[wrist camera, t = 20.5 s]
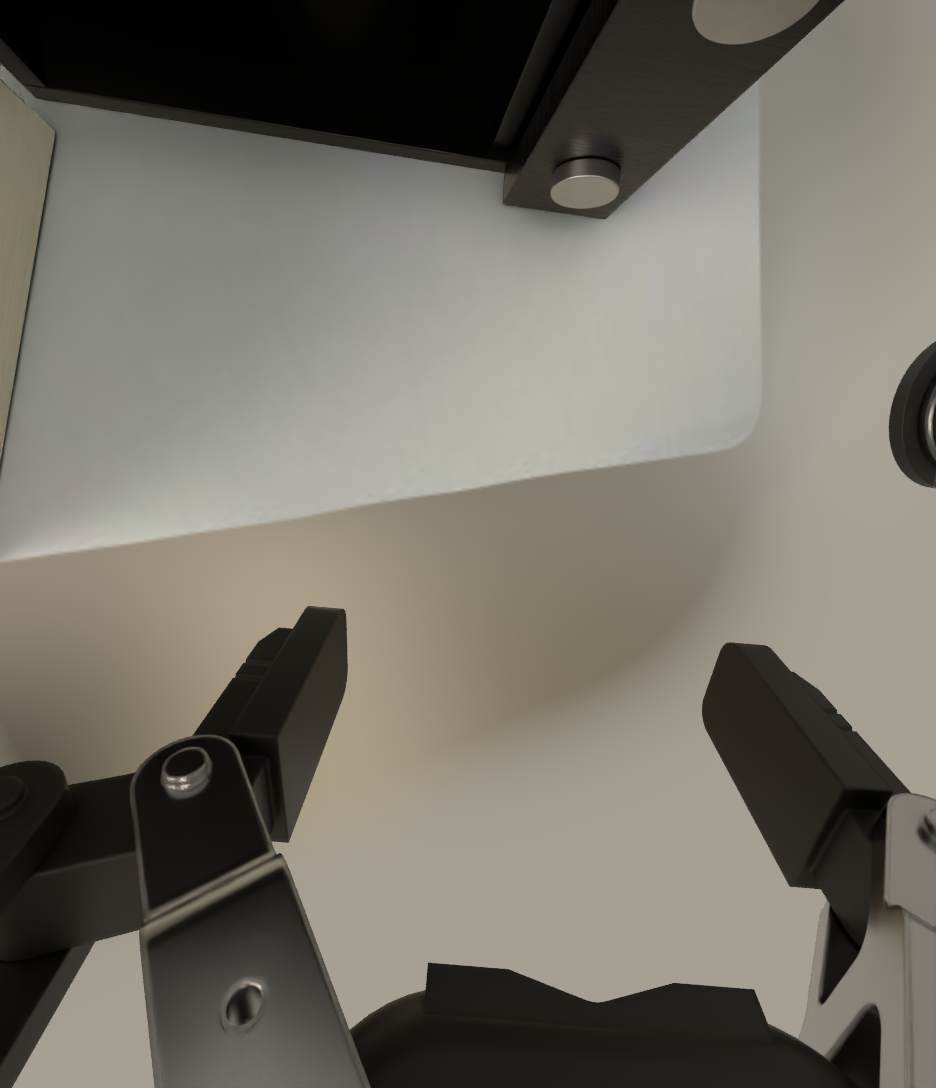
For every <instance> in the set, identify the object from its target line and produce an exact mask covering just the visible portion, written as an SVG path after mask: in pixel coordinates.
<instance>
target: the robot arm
mask: <svg viewBox="0 0 936 1088" xmlns="http://www.w3.org/2000/svg"><path fill="white" fill-rule="evenodd" d="M918 438H919V442H920V446H921V449H922V451H923V453H924V455H925V457H926V458H927V459H928V461H929V462H930V463H931V464H932V465H933V466H935V467H936V374H935V375H934V377H933V378H932V380H931V381H930V383H929V385H928V387H927V389H926V391H925V393H924V396H923V399H922V401H921V405H920V409H919V414H918ZM347 668H348V664H347V627H346V613H345V610H344V609H338V608H326V607H315V606H308V607H307V608H306V609H305V610H304V612H303V613H302V615H301V617H300V618H299V620H298V622H297V623H296V625H295V626H294V628H293V629H289V628H278V629H276V630H275V631H273V632H272V633H270V634H269V635H268V636H266V637H265V638H263V639H262V640H260V641H259V642H258V643H257V645H256V646H255V647H254V649H253V650H252V652H251V653H250V655H249V656H248V657H247V659H246V663H243V664H242V666H241V667H240V669H239V670H238V672H237V673H236V677H235V678H233V679H232V680H231V682H230V683H229V684H228V686H227V687H226V689H225V690H224V691H223V693H222V694H221V696H220V697H219V699H218V700H217V701H216V703H215V704H214V706H213V707H212V709H211V710H210V711H209V713H208V714H207V716H206V717H205V719H204V720H203V721H202V723H201V724H200V726H199V727H198V729H197V730H196V731H195V733H194V734H193V736H190V737H186V738H183V739H179V740H177V741H174V742H172V743H170V744H168V745H166V746H164V747H163V748H161V749H159V750H158V751H156V752H155V753H153V754H152V755H151V756H150V757H148V758H147V759H146V760H145V761H144V762H143V764H141V765H140V767H139V768H138V770H137V771H136V772H135V773H131V774H127V775H122V776H117V777H111V778H106V779H100V780H95V781H89V782H83V783H77V784H72V785H68V784H67V781H66V779H65V776H64V773H63V771H62V770H61V769H60V768H59V767H58V766H56V765H55V764H53V763H50V762H47V761H25V762H18V763H14V764H10V765H6V766H3V767H0V1088H12V1087H13V1085H14V1083H15V1081H16V1080H17V1078H18V1076H19V1074H20V1072H21V1071H22V1069H23V1067H24V1066H25V1064H26V1062H27V1060H28V1058H29V1057H30V1055H31V1053H32V1051H33V1050H34V1048H35V1046H36V1044H37V1043H38V1041H39V1039H40V1037H41V1036H42V1034H43V1032H44V1030H45V1029H46V1027H47V1025H48V1023H49V1022H50V1020H51V1018H52V1016H53V1015H54V1013H55V1011H56V1009H57V1008H58V1006H59V1004H60V1002H61V1001H62V999H63V997H64V995H65V994H66V992H67V990H68V988H69V987H70V984H71V983H72V981H73V979H74V978H75V976H76V974H77V973H78V971H79V969H80V967H81V965H82V964H83V962H84V960H85V958H86V957H87V955H88V953H89V952H90V950H91V948H92V946H93V944H94V943H95V941H99V940H102V939H107V938H110V937H114V936H118V935H121V934H125V933H129V932H133V931H137V930H139V939H140V952H141V962H142V971H143V981H144V991H145V1000H146V1010H147V1019H148V1028H149V1038H150V1047H151V1057H152V1067H153V1076H154V1085H155V1088H936V800H935V799H932V798H929V797H926V796H923V795H919V794H912V793H911V792H910V791H909V790H908V789H907V788H906V787H905V786H904V785H903V783H902V782H901V781H900V780H899V779H898V778H897V777H896V776H895V774H894V773H893V772H892V771H891V770H890V769H889V768H888V767H887V766H886V764H885V763H884V762H883V761H882V760H881V759H880V758H879V757H878V755H877V754H876V753H875V752H874V751H873V750H872V749H871V748H870V746H869V745H868V744H867V743H866V742H865V741H864V740H863V739H862V738H861V737H860V736H859V734H858V733H857V732H854V731H852V726H851V725H850V724H849V723H848V722H847V721H846V720H845V719H844V717H843V716H842V715H841V714H837V710H836V709H835V707H833V705H832V704H831V703H830V702H829V701H828V700H827V699H826V697H825V696H824V695H823V694H822V693H821V692H820V691H819V690H818V689H817V688H815V687H814V686H813V685H811V684H810V683H808V682H807V681H805V680H804V679H803V678H801V677H800V676H798V675H797V674H796V673H794V672H791V671H790V670H789V669H788V668H787V667H786V665H785V664H784V663H783V662H782V661H781V660H780V659H779V657H778V656H777V655H776V654H775V653H774V651H772V649H771V648H769V647H768V646H765V645H754V644H742V643H726V644H725V645H724V646H723V647H722V649H721V651H720V653H719V656H718V659H717V662H716V665H715V667H714V670H713V673H712V676H711V679H710V682H709V685H708V687H707V690H706V693H705V696H704V699H703V704H702V716H703V722H704V725H705V728H706V731H707V732H708V734H709V736H710V738H711V740H712V742H713V744H714V746H715V748H716V749H717V751H718V753H719V755H720V757H721V759H722V761H723V763H724V764H725V766H726V768H727V770H728V772H729V774H730V776H731V778H732V779H733V781H734V783H735V785H736V786H737V789H738V791H739V793H740V794H741V796H742V798H743V800H744V802H745V803H746V806H747V807H748V809H749V811H750V813H751V815H752V817H753V819H754V820H755V823H756V824H757V826H758V828H759V830H760V832H761V834H762V836H763V838H764V839H765V841H766V843H767V845H768V847H769V848H770V850H771V852H772V854H773V856H774V858H775V860H776V862H777V864H778V865H779V868H780V869H781V871H782V873H783V875H784V877H785V879H786V881H787V883H788V884H789V886H790V887H802V888H814V889H821V890H822V892H823V894H824V895H825V896H826V899H827V902H826V903H825V905H824V907H823V908H822V910H821V913H820V917H819V924H818V931H817V938H816V945H815V952H814V959H813V966H812V973H811V980H810V987H809V994H808V1001H807V1008H806V1014H805V1019H804V1023H803V1026H802V1029H801V1032H800V1035H799V1038H798V1039H797V1038H795V1037H793V1036H791V1035H789V1034H788V1033H786V1032H784V1031H782V1030H780V1029H778V1028H776V1027H774V1026H772V1025H770V1024H768V1023H767V1021H766V1018H765V1016H764V1013H763V1011H762V1008H761V1006H760V1003H759V1001H758V998H757V996H756V993H755V991H754V990H752V989H740V988H728V987H716V986H704V985H691V984H680V983H672V984H669V985H665V986H661V987H658V988H654V989H650V990H647V991H643V992H639V993H635V994H632V995H628V996H624V997H620V998H617V999H613V1000H609V1001H605V1002H600V1003H596V1002H590V1001H587V1000H584V999H582V998H579V997H577V996H574V995H571V994H569V993H566V992H564V991H561V990H559V989H556V988H554V987H551V986H549V985H546V984H544V983H541V982H539V981H536V980H534V979H531V978H529V977H526V976H524V975H521V974H519V973H516V972H514V971H511V970H509V969H498V968H485V967H474V966H460V965H449V964H437V963H428V970H427V982H426V990H425V991H421V992H417V993H413V994H410V995H406V996H404V997H402V998H399V999H397V1000H395V1001H392V1002H390V1003H388V1004H386V1005H384V1006H383V1007H381V1008H380V1009H378V1010H376V1011H374V1012H373V1013H371V1014H369V1015H368V1016H367V1017H365V1018H364V1019H363V1020H362V1021H360V1022H359V1023H358V1024H357V1025H355V1026H354V1027H353V1028H351V1029H350V1030H349V1028H348V1025H347V1022H346V1020H345V1017H344V1014H343V1012H342V1009H341V1007H340V1004H339V1001H338V999H337V996H336V993H335V990H334V988H333V985H332V982H331V980H330V977H329V974H328V972H327V969H326V967H325V964H324V961H323V958H322V956H321V953H320V950H319V948H318V945H317V942H316V939H315V937H314V934H313V931H312V929H311V926H310V924H309V921H308V918H307V915H306V913H305V910H304V908H303V905H302V902H301V899H300V897H299V894H298V892H297V889H296V886H295V883H294V881H293V878H292V875H291V873H290V870H289V868H288V865H287V863H286V861H285V859H284V857H283V856H282V854H280V853H279V854H278V855H277V854H276V852H275V850H274V848H273V845H272V842H271V841H274V842H286V843H288V842H289V840H290V837H291V835H292V832H293V829H294V827H295V824H296V821H297V819H298V816H299V813H300V811H301V808H302V805H303V803H304V800H305V798H306V795H307V792H308V790H309V787H310V784H311V781H312V779H313V776H314V774H315V771H316V768H317V765H318V763H319V760H320V758H321V755H322V752H323V750H324V747H325V744H326V742H327V739H328V736H329V734H330V731H331V728H332V725H333V723H334V720H335V718H336V715H337V712H338V710H339V707H340V704H341V702H342V699H343V696H344V692H345V688H346V682H347V671H348V669H347Z"/></svg>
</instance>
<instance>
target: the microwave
mask: <svg viewBox="0 0 936 1088" xmlns="http://www.w3.org/2000/svg"><path fill="white" fill-rule="evenodd" d="M843 1H844V0H0V63H1V64H2V65H3V66H4V67H5V68H6V69H7V70H8V71H9V72H10V73H11V74H12V75H13V76H14V77H15V78H16V79H17V80H18V81H19V82H20V83H22V85H24V86H25V87H26V88H27V89H28V90H29V91H30V92H31V93H32V94H33V95H34V96H35V97H36V98H40V99H47V100H53V101H59V102H65V103H72V104H78V105H84V106H90V107H97V108H103V109H109V110H115V111H122V112H128V113H134V114H140V115H147V116H153V117H159V118H165V119H172V120H178V121H184V122H190V123H196V124H203V125H209V126H215V127H221V128H228V129H234V130H240V131H246V132H253V133H259V134H265V135H271V136H278V137H284V138H290V139H296V140H303V141H309V142H315V143H321V144H328V145H334V146H340V147H346V148H353V149H359V150H365V151H371V152H378V153H384V154H390V155H396V156H403V157H409V158H415V159H421V160H428V161H434V162H440V163H446V164H452V165H459V166H465V167H471V168H477V169H484V170H490V171H496V172H502V173H505V176H504V192H503V204H505V205H512V206H519V207H526V208H532V209H539V210H546V211H553V212H560V213H566V214H573V215H580V216H587V217H593V218H600V219H606V218H607V217H608V216H609V215H610V214H611V213H612V212H614V211H615V210H616V209H617V208H618V207H619V206H620V205H621V204H622V203H623V202H624V201H626V200H627V199H628V198H629V197H630V196H631V195H632V194H633V193H634V192H635V191H637V190H638V189H639V188H640V187H641V186H642V185H643V184H644V183H645V182H646V181H647V180H649V179H650V178H651V177H652V176H653V175H654V174H655V173H656V172H657V171H658V170H659V169H661V168H662V167H663V166H664V165H665V164H666V163H667V162H668V161H669V160H670V159H672V158H673V157H674V156H675V155H676V154H677V153H678V152H679V151H680V150H681V149H682V148H684V147H685V146H686V145H687V144H688V143H689V142H690V141H691V140H692V139H693V138H695V137H696V136H697V135H698V134H699V133H700V132H701V131H702V130H703V129H704V128H705V127H707V126H708V125H709V124H710V123H711V122H712V121H713V120H714V119H715V118H716V117H718V116H719V115H720V114H721V113H722V112H723V111H724V110H725V109H726V108H727V107H728V106H730V105H731V104H732V103H733V102H734V101H735V100H736V99H737V98H738V97H739V96H740V95H742V94H743V93H744V92H745V91H746V90H747V89H748V88H749V87H750V86H751V85H753V84H754V83H755V82H756V81H757V80H758V79H759V78H760V77H761V76H762V75H763V74H765V73H766V72H767V71H768V70H769V69H770V68H771V67H772V66H773V65H774V64H775V63H777V62H778V61H779V60H780V59H781V58H782V57H783V56H784V55H785V54H786V53H788V51H790V50H791V49H792V48H793V47H794V46H795V45H796V44H797V43H798V42H799V41H801V39H803V38H804V37H805V36H806V35H807V34H808V33H809V32H811V30H813V29H814V28H815V27H816V26H817V25H818V24H819V23H820V22H821V21H823V20H824V19H825V18H826V17H827V16H828V15H829V14H830V13H831V12H832V11H833V10H835V9H836V8H837V7H838V6H839V5H840V4H841V3H842V2H843Z"/></svg>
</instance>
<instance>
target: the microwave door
mask: <svg viewBox="0 0 936 1088" xmlns="http://www.w3.org/2000/svg"><path fill="white" fill-rule="evenodd" d="M54 138H55V130H54V129H53V128H52V127H51V126H50V125H48V124H47V123H46V122H45V121H44V120H43V119H42V118H41V117H40V116H39V115H38V114H37V113H36V112H35V111H34V110H33V109H32V108H30V107H29V106H28V105H27V104H26V103H25V102H24V101H23V100H22V99H21V98H20V97H19V96H18V95H17V94H16V93H15V92H13V91H12V90H11V89H10V88H9V87H8V86H7V85H6V84H5V83H4V82H3V81H2V80H1V79H0V459H1V454H2V448H3V442H4V436H5V430H6V424H7V418H8V412H9V406H10V400H11V394H12V388H13V382H14V376H15V370H16V364H17V358H18V352H19V346H20V340H21V334H22V329H23V323H24V317H25V311H26V305H27V299H28V293H29V287H30V281H31V275H32V269H33V263H34V257H35V251H36V245H37V239H38V233H39V227H40V221H41V215H42V209H43V204H44V198H45V192H46V186H47V180H48V174H49V168H50V162H51V156H52V150H53V144H54Z"/></svg>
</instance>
